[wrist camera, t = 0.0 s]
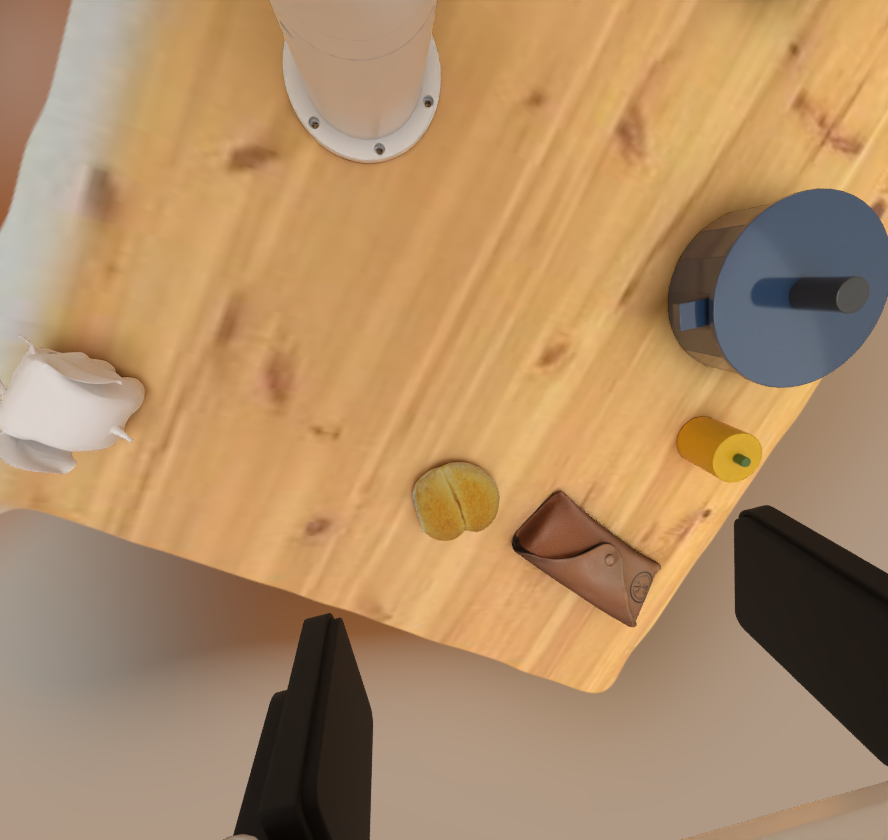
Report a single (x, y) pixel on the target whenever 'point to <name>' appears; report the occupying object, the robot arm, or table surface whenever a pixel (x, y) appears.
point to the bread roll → (455, 500)
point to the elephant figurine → (63, 409)
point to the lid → (800, 288)
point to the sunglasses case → (586, 558)
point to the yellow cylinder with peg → (719, 448)
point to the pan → (702, 287)
